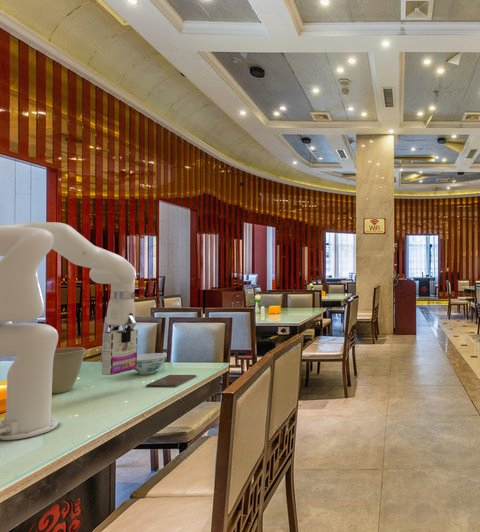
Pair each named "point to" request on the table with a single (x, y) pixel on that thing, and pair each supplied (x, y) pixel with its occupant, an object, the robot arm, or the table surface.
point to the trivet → (171, 381)
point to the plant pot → (66, 368)
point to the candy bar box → (118, 352)
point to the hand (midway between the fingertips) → (120, 341)
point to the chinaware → (150, 362)
